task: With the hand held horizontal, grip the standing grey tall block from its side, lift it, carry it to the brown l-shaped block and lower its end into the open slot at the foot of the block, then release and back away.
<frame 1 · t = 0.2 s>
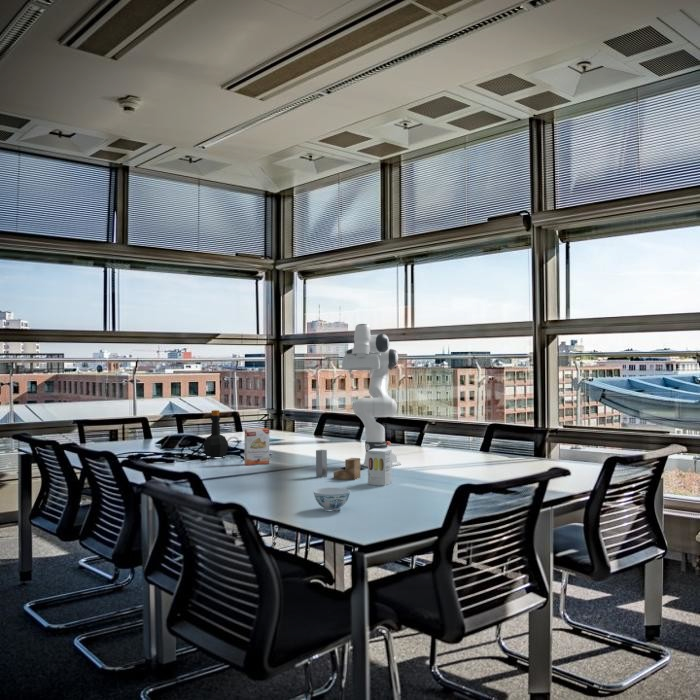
hand: (360, 377, 374), 52 cm above the table, tool tilted 20°, fingers open, 8 cm apart
grey tall block: (321, 476, 373), on the table
cracker box: (257, 464, 422), on the table
supplement box: (379, 484, 350), on the table
bottle: (215, 458, 453), on the table
brown l-shaped block: (343, 477, 369), on the table
chinaware: (332, 510, 291), on the table
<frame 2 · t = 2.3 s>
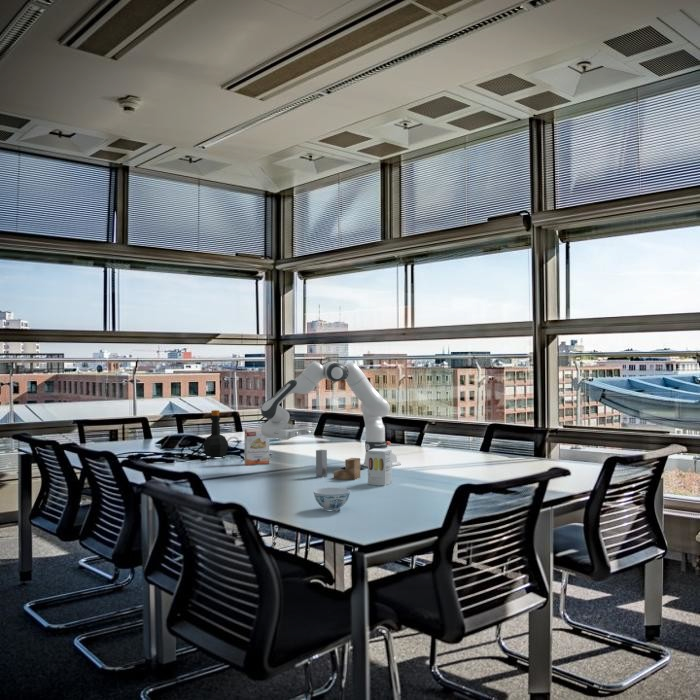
hand: (304, 433, 381), 22 cm above the table, tool horizontal, fingers open, 8 cm apart
nothing on the table moved.
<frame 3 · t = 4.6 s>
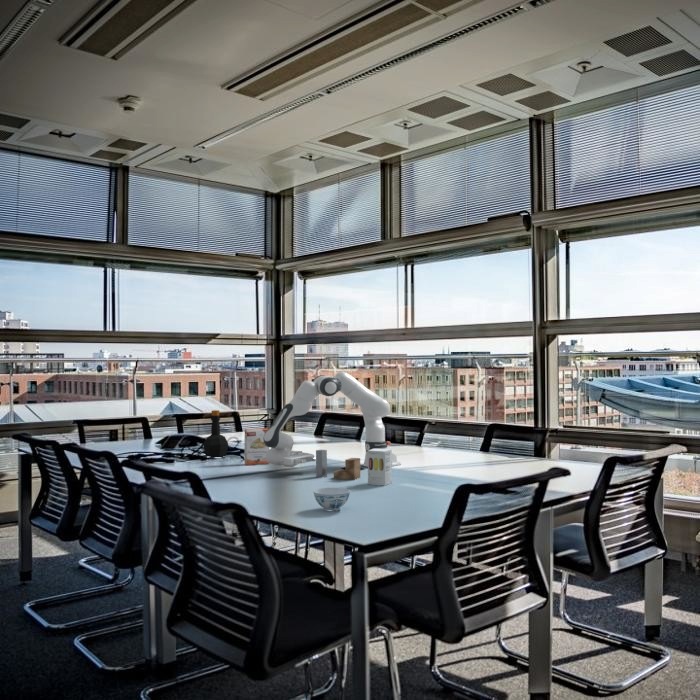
hand: (309, 460, 379), 8 cm above the table, tool horizontal, fingers open, 8 cm apart
nothing on the table moved.
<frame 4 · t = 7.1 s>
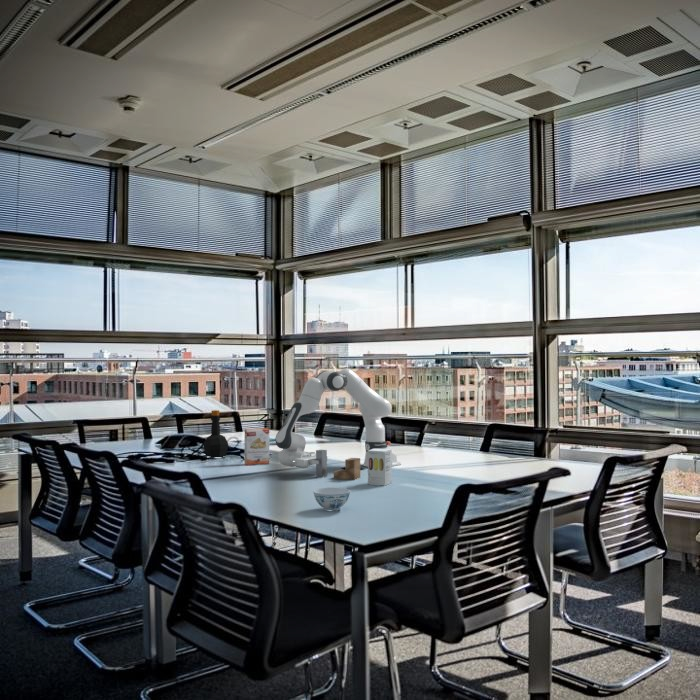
hand: (322, 461, 373), 8 cm above the table, tool horizontal, fingers closed on grey tall block, 4 cm apart
grey tall block: (321, 476, 373), on the table, touching gripper
everything else where it was.
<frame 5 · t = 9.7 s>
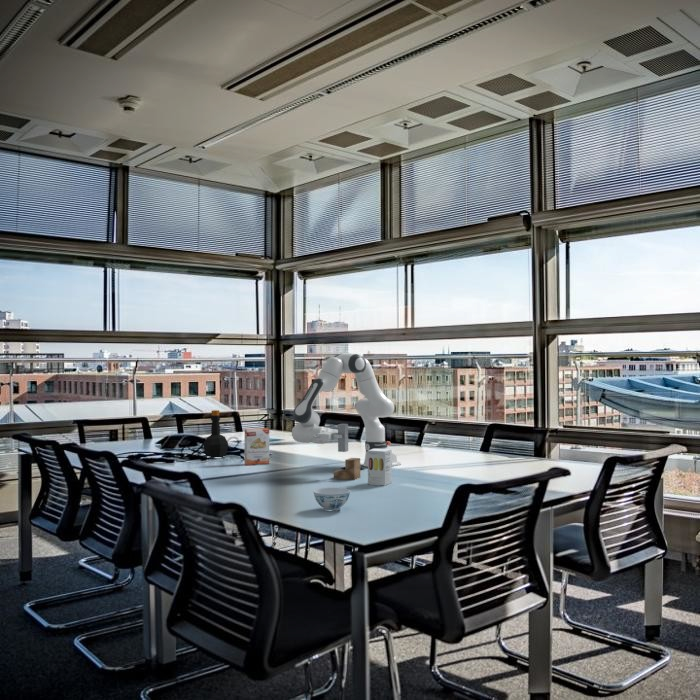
hand: (344, 435, 369), 22 cm above the table, tool horizontal, fingers closed on grey tall block, 4 cm apart
grey tall block: (343, 451, 369), point 14 cm above the table, touching gripper
everything else where it was.
when the fingers open (9 cm above the table, at t = 12.3 s): grey tall block drops 1 cm, resting in brown l-shaped block.
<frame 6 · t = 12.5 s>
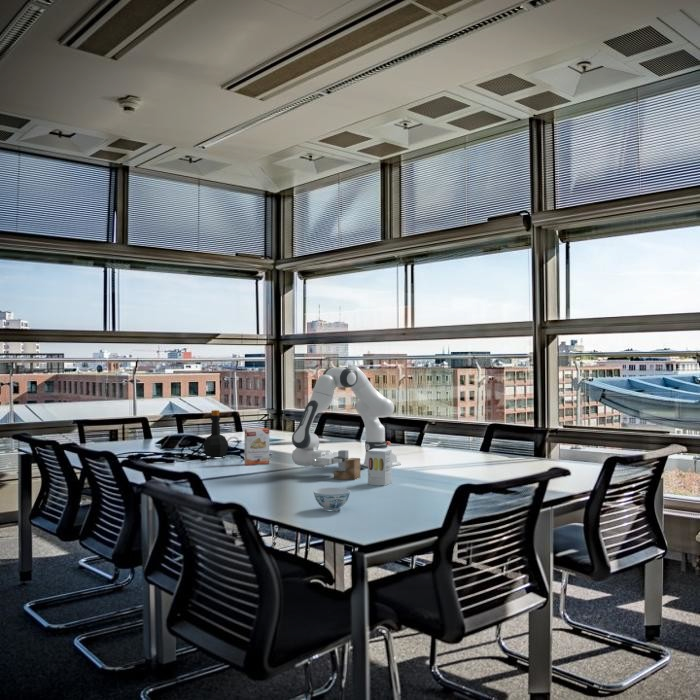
hand: (345, 459, 369), 9 cm above the table, tool horizontal, fingers open, 6 cm apart
grey tall block: (343, 477, 369), resting in brown l-shaped block
everything else where it was.
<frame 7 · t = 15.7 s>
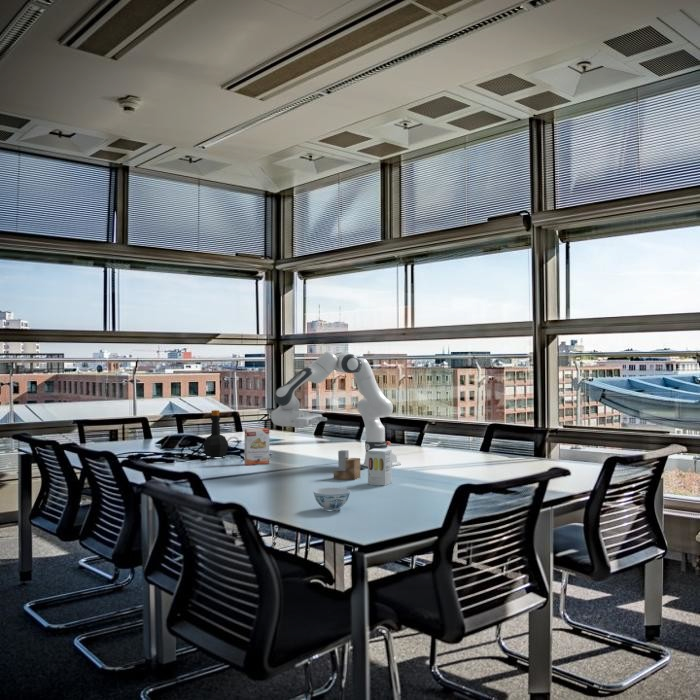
hand: (322, 420, 375), 29 cm above the table, tool horizontal, fingers open, 8 cm apart
nothing on the table moved.
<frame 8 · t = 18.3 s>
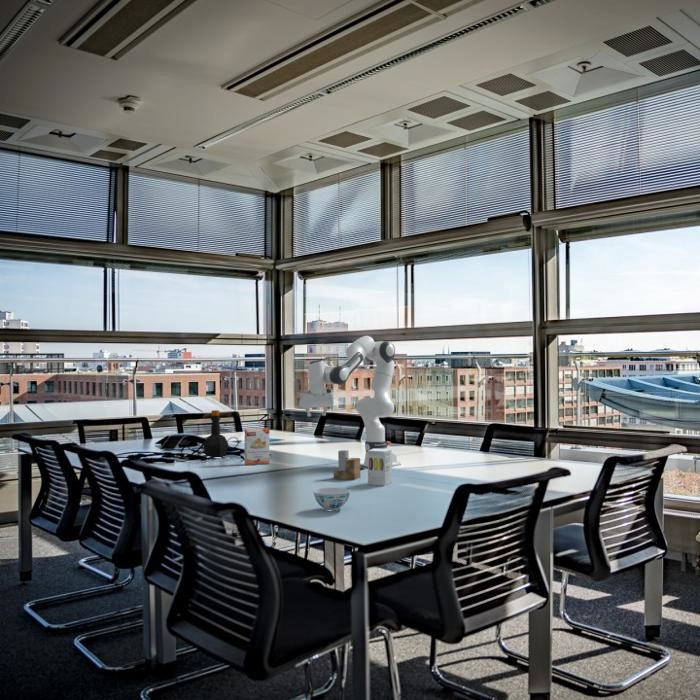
hand: (316, 416, 384), 31 cm above the table, tool pointing down, fingers open, 8 cm apart
nothing on the table moved.
at the end: grey tall block 0.1 cm off-centre on the brown l-shaped block, point 0.0 cm above the brown l-shaped block's base; grey tall block tilted 0°; the gripper is holding nothing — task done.
